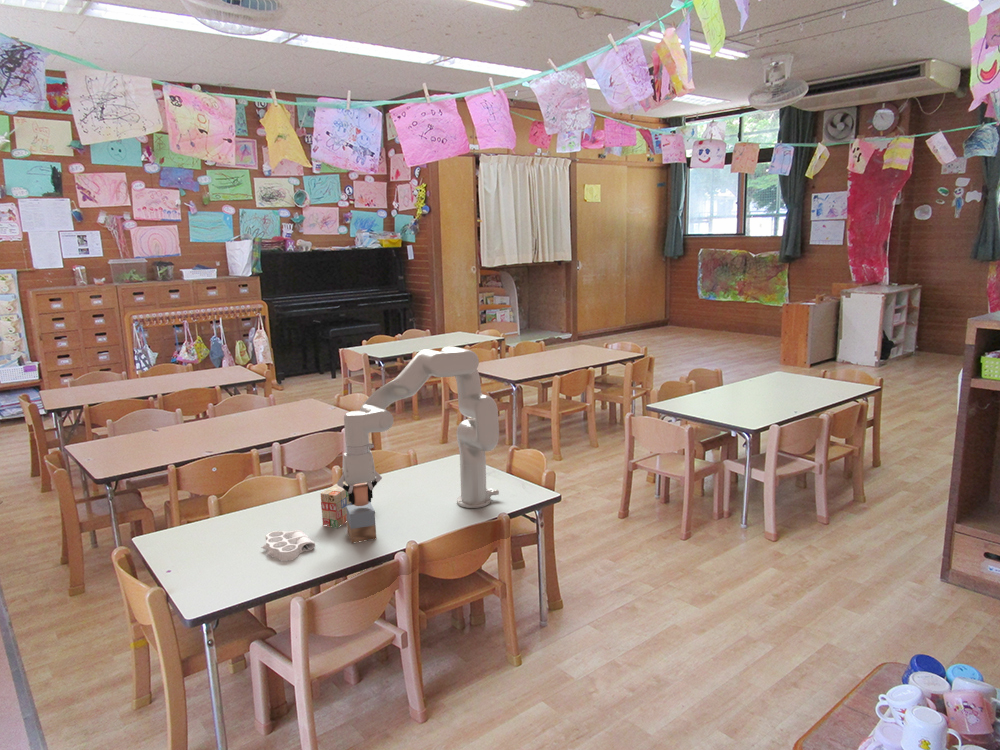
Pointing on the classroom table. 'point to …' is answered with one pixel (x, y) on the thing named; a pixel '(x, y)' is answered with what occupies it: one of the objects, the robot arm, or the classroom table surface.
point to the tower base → (361, 533)
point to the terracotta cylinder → (360, 494)
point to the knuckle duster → (287, 544)
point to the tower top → (360, 516)
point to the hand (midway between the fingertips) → (360, 501)
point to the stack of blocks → (335, 505)
